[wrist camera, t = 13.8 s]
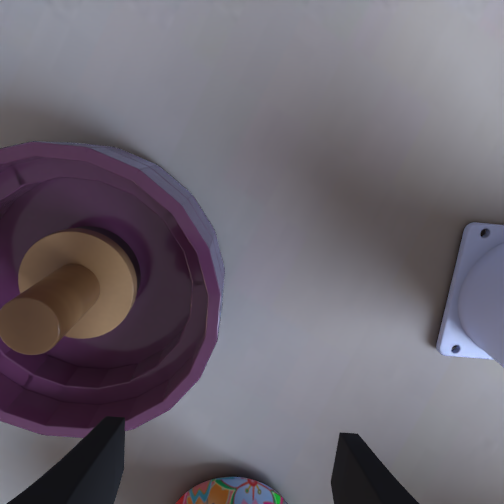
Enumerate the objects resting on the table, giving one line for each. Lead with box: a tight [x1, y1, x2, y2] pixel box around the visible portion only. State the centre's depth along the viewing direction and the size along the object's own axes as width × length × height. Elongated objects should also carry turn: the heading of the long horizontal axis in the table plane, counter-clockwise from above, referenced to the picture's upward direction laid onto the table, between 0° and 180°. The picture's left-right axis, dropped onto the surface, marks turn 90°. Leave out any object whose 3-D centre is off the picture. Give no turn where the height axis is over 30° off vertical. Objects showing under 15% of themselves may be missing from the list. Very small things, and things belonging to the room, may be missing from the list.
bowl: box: [0, 141, 225, 438], centre depth 20 cm, size 14×14×4 cm
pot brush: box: [0, 226, 141, 355], centre depth 18 cm, size 6×6×7 cm
